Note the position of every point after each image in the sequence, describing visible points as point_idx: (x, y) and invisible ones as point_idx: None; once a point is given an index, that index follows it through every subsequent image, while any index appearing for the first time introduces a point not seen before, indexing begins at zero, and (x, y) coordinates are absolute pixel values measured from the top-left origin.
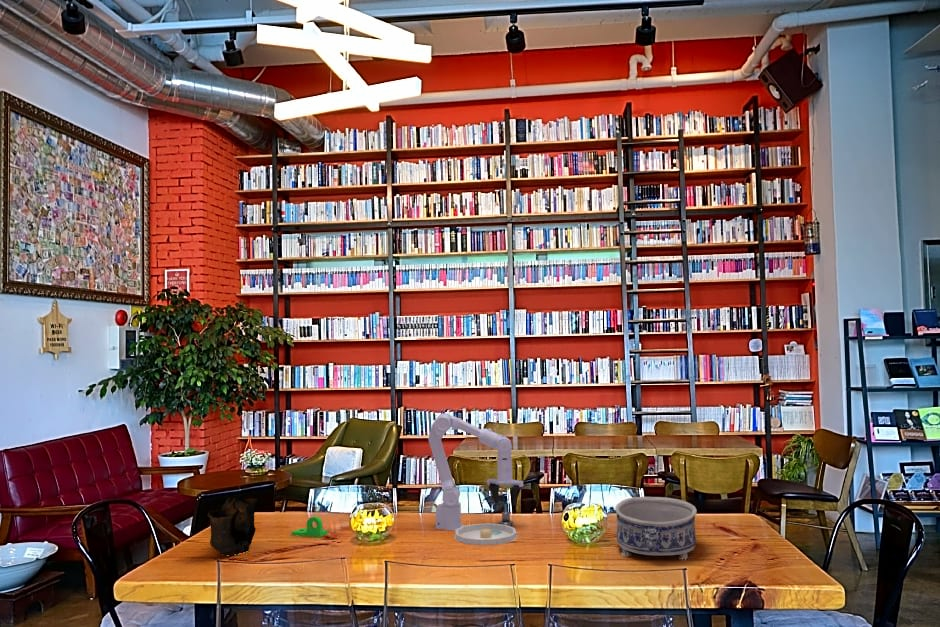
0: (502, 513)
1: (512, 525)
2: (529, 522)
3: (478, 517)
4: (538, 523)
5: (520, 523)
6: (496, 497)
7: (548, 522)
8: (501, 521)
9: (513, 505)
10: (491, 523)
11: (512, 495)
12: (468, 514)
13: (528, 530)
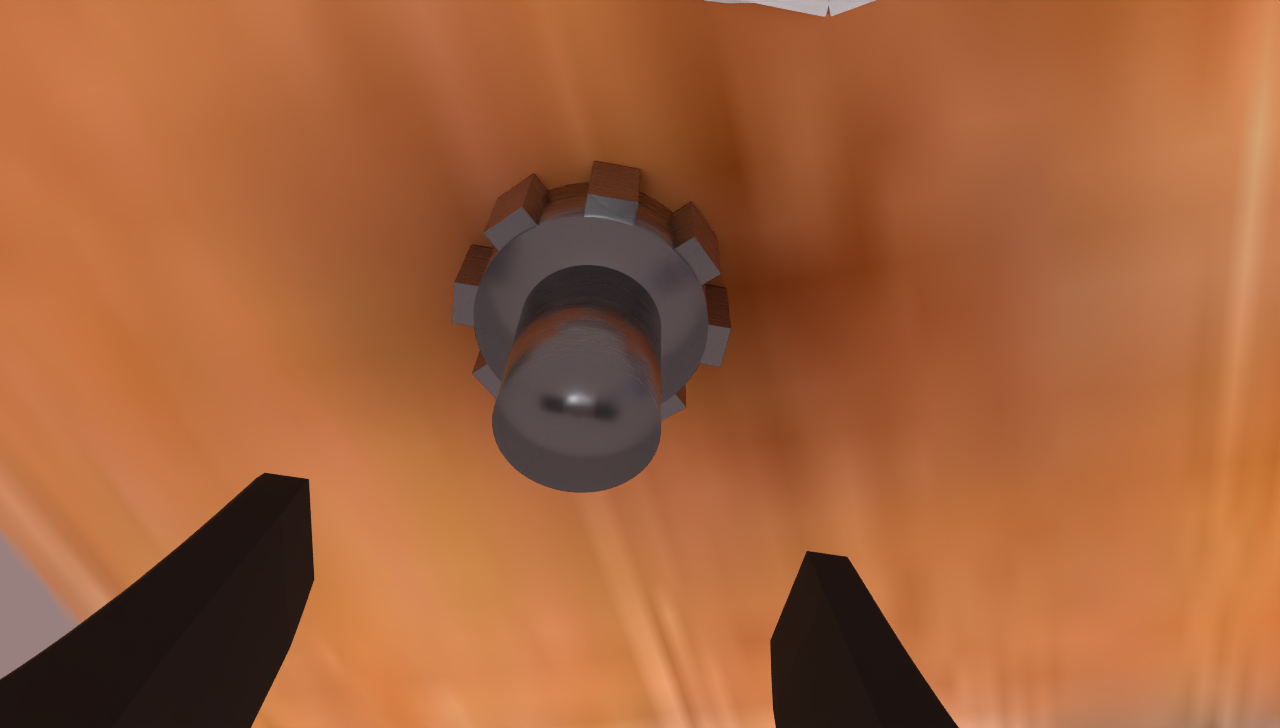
0: (635, 376)
1: (464, 262)
2: (344, 531)
3: (1081, 626)
4: (207, 509)
5: (442, 473)
6: (833, 725)
7: (112, 564)
8: (673, 321)
9: (289, 476)
10: (822, 5)
11: (116, 701)
12: (1214, 708)
13: (135, 129)
